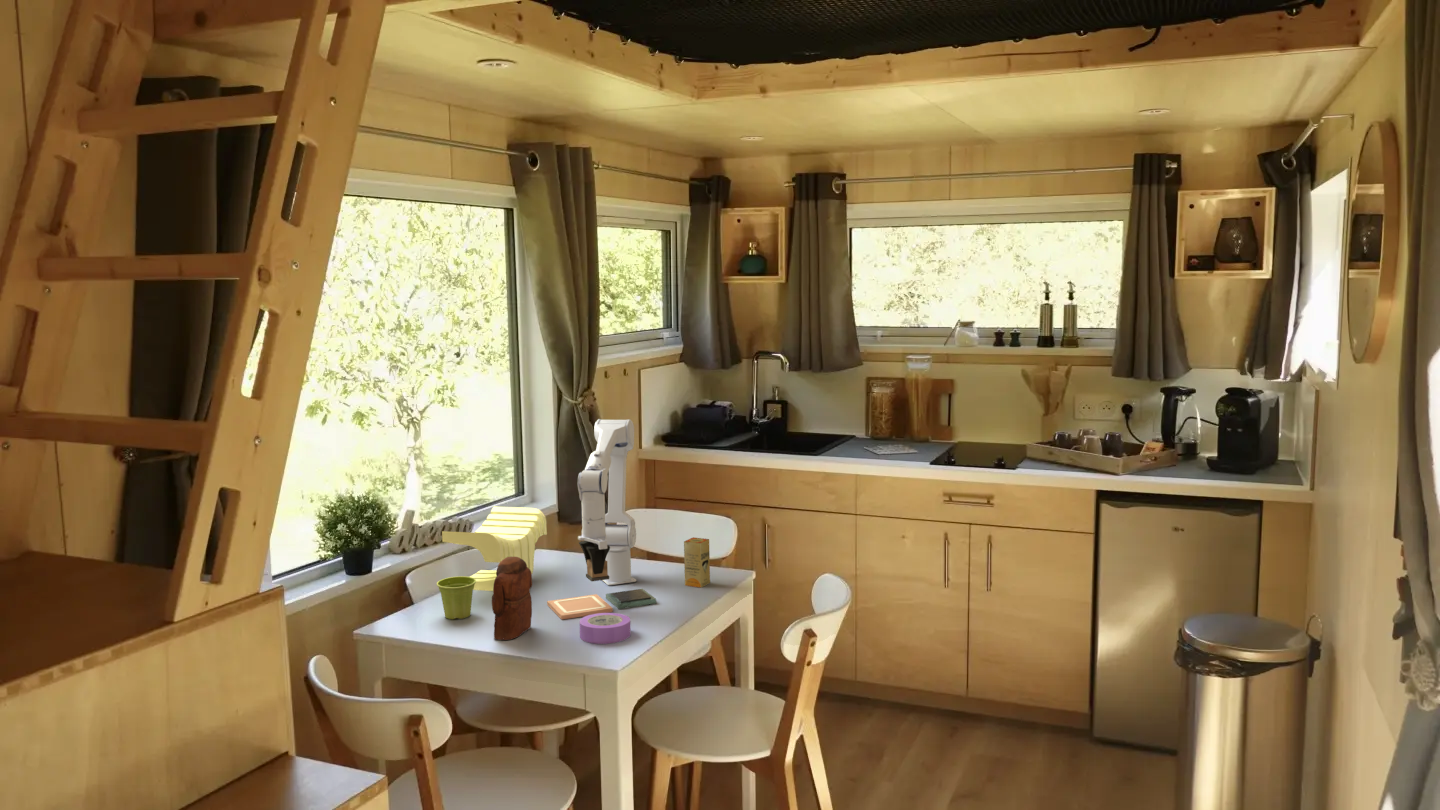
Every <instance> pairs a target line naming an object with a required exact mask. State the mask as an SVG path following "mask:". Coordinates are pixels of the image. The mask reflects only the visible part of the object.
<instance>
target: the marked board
mask: <svg viewBox="0 0 1440 810" xmlns="http://www.w3.org/2000/svg"><path fill="white" fill-rule="evenodd" d="M546 603H547V604H546V605H547V606H548V607H549V608H550V609H551V610H552V612H554V614H555V615H556V616H558V618H559V619H560V620H562V621H563V620H568V619H575V618H581V617H582V618H583V617H585V616H588V615H592V614H598V613H614V611H613V610H614V608H613V607H612V606H611V605H610V604H609V603H608V602H606V601H605V600H604V599H603V598H602V597H600V596H599V595H598V594H597V593H595V594H589V595H588V594H587V595H581V596H575V597H567V598H561V599H560V598H559V599H553V600H547V601H546Z"/></svg>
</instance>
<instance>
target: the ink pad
mask: <svg viewBox="0 0 1440 810" xmlns="http://www.w3.org/2000/svg"><path fill="white" fill-rule="evenodd" d="M605 599H606V600H607V601H608V602H609V603H611V604H612V605H613V606H614V607H616V609H618V610H621V609H629V608H633V607H641V606H642V605H643V606H649V604H650V605H655V604H657V599H656V598H655V597H654V596H653V595H652V594H650V593H649V592H647V590H645V589H643V588H637V589H631V590H630V589H629V590H625V591H624V590H623V591H617V592H609V593H605Z"/></svg>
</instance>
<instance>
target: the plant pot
mask: <svg viewBox="0 0 1440 810" xmlns="http://www.w3.org/2000/svg"><path fill="white" fill-rule="evenodd" d="M475 583H476V579H475V578H472V577H470V576H468V575H467V576H459V575H458V576H457V575H456V576H449V577H446V578H443V579H442V578H441V579H440V580H438V581H437V582H436V586H437V587H438V590H439V592H440V594H441V595H440V596H441V601H442V607H443V612H444V616H445V618H446V619H448V620H455V619H459V620H463V619H466V618H468V617H470V616H471V613H472V602H473V593H474V590H473V589H474V584H475Z"/></svg>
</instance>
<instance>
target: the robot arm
mask: <svg viewBox="0 0 1440 810" xmlns="http://www.w3.org/2000/svg"><path fill="white" fill-rule="evenodd" d="M593 427H594V429H593V431H594V434H593V435H594V439H595V441H596V442H597V444H596V447H595V448H596V449H595V450H594V451H593V452H591V453H590V455H589V457H588V460H587V462H586V465H585V467H584V469H583V470H582V471H580V472H579V473H578V476H577V490H578V494H579V495H578V496H579V501H581V527H582V529H581V535H578V536H577V540H578V541H579V542H578V544H579V546H580V549H581V550H582V553H583V556H584V559H585V563H586V565H587V560H588V559H591V563H592V569H593V573H594V574H601V573H602V572H603V568H604V563H605V560H606V561H607V569H608V575H609V579H607V580H601V581H603V582H604V583H605V584H606V585H607V586H614V585H622V584H628V583H635V582H636V583H637V579H635V578H634V577H633V576H632V565H631V563H632V562H631V548H634V546H635V545H636V541H637V528H636V521H635V518H633V517H632V516H631V515H630V514H628V513H627V512H626V501H627V499H626V494H627V493H626V490H627V489H626V487H627V458H628V453H629V452H630V451H632V450H634V445H635V425H634V421H633V420H632V419H631V418H629V419H601V418H598V419H597V420H596V421H595V423H594V426H593ZM607 487H608V488H607ZM607 489H608V494H607V495H608V496H607V497H608V498H607V499H608V500H607V513H606V506H605V505H606V503H605V499H606V498H605V493H606V491H607ZM610 523H614V524H610ZM615 523H616V524H615ZM619 523H621V524H619Z"/></svg>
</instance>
